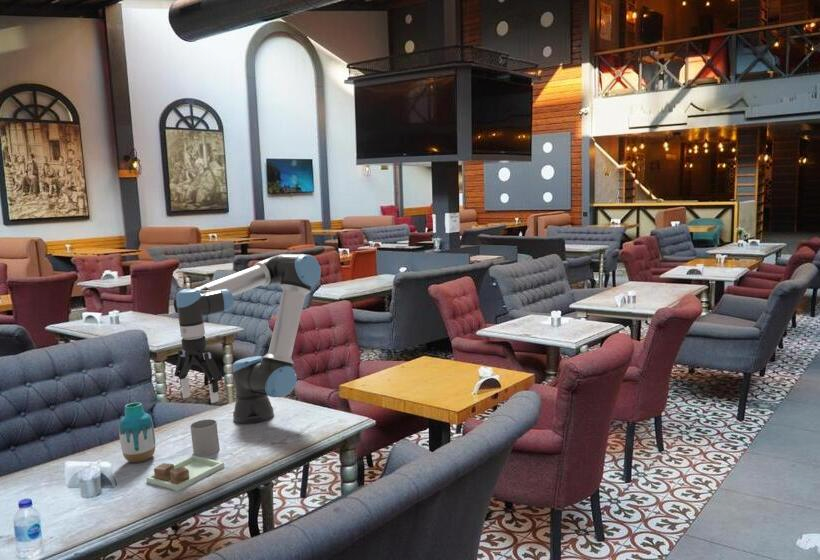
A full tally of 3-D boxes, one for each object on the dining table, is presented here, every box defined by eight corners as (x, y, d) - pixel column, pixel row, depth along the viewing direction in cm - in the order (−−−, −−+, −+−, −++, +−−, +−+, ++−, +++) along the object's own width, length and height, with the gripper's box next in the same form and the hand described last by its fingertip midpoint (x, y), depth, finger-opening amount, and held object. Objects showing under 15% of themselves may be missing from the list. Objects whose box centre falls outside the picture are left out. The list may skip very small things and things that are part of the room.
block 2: (184, 478, 203) (182, 466, 202) (189, 482, 200) (188, 469, 199) (171, 483, 200) (169, 470, 199) (177, 487, 197) (175, 474, 197)
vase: (144, 467, 215) (137, 410, 212) (116, 466, 217) (108, 410, 214) (164, 454, 225) (157, 399, 222) (136, 453, 227) (129, 399, 225)
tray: (194, 461, 217) (193, 455, 217) (224, 468, 210) (223, 462, 210) (147, 484, 202) (146, 477, 202) (177, 492, 195) (177, 486, 195)
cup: (211, 457, 219) (208, 428, 218) (189, 457, 221) (185, 428, 220) (224, 447, 227) (220, 419, 226) (201, 447, 229) (198, 419, 228)
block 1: (164, 475, 206) (163, 463, 206) (175, 476, 205) (173, 464, 204) (155, 480, 203) (153, 468, 202) (165, 482, 201) (164, 469, 200)
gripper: (158, 337, 222) (166, 398, 225) (210, 342, 209) (218, 407, 212) (177, 332, 228) (184, 391, 231) (228, 336, 215) (235, 399, 218)
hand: (200, 399), depth 221 cm, fingers open, 13 cm apart
